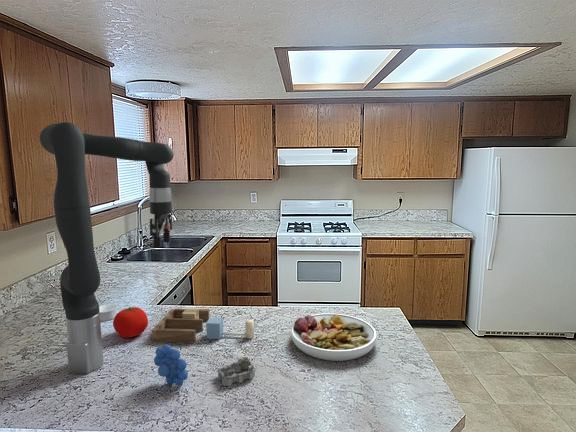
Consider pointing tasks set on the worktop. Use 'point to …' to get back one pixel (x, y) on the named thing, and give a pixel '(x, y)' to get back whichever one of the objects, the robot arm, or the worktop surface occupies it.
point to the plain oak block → (190, 314)
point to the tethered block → (216, 331)
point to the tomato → (130, 322)
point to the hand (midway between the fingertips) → (162, 244)
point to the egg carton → (236, 367)
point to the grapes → (170, 365)
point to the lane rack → (179, 327)
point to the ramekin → (107, 312)
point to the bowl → (333, 336)
